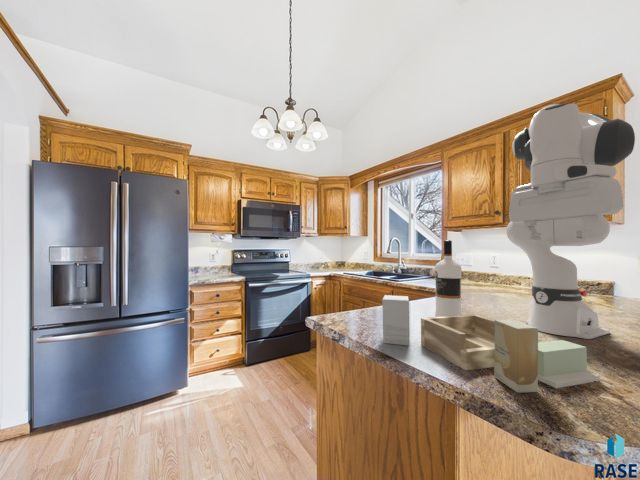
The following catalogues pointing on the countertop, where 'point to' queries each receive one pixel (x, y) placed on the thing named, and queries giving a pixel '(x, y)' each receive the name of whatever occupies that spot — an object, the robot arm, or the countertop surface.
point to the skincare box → (516, 355)
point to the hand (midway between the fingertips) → (557, 239)
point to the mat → (569, 379)
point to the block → (561, 358)
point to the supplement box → (396, 320)
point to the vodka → (448, 284)
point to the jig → (461, 339)
